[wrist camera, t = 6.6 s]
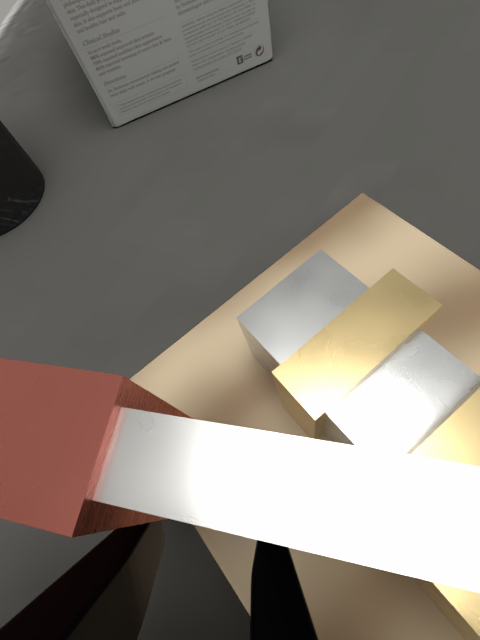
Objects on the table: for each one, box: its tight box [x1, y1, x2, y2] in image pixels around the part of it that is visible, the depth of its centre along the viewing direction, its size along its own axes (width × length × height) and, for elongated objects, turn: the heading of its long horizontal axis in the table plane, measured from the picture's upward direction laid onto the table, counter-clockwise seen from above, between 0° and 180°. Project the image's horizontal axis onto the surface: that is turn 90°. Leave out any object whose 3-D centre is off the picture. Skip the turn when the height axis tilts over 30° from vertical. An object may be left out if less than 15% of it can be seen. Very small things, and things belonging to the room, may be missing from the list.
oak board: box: [129, 193, 480, 640], centre depth 13 cm, size 26×16×1 cm, turn 39°
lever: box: [0, 358, 480, 593], centre depth 6 cm, size 14×3×5 cm, turn 80°
